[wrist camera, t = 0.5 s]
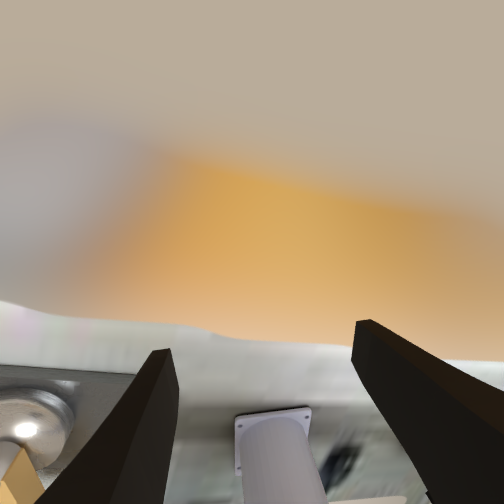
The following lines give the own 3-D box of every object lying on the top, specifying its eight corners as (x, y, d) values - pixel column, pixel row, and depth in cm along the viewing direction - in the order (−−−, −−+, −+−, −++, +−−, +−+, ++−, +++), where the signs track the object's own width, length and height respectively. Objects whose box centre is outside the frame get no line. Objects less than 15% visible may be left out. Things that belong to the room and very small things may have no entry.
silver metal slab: (167, 377, 22) (161, 409, 20) (150, 456, 26) (143, 492, 23) (-130, 355, 18) (-192, 394, 15) (-99, 456, 21) (-144, 501, 19)
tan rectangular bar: (-19, 443, 18) (-45, 477, 16) (19, 439, 18) (-2, 471, 16) (29, 524, 22) (12, 558, 20) (59, 519, 22) (46, 552, 21)
